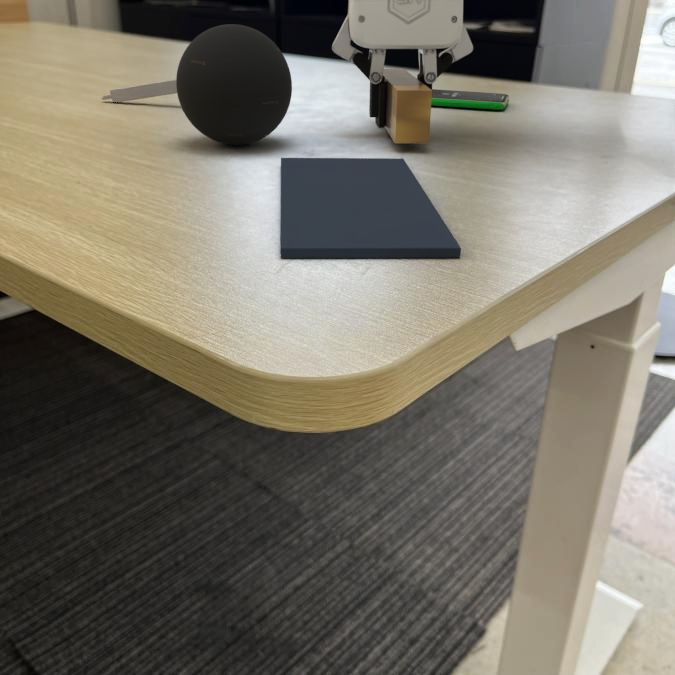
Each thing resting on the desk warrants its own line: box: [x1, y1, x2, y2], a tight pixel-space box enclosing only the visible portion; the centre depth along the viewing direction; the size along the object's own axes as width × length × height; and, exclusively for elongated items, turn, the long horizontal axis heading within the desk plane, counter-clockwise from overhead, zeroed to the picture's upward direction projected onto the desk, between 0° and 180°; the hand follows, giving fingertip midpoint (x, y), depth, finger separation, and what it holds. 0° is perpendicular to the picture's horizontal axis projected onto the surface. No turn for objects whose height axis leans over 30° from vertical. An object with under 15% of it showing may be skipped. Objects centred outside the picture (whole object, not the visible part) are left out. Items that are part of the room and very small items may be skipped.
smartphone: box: [431, 88, 510, 111], centre depth 91 cm, size 8×1×15 cm
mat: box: [279, 157, 462, 259], centre depth 51 cm, size 10×22×1 cm, turn 4°
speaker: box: [175, 23, 293, 146], centre depth 65 cm, size 10×10×10 cm
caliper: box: [101, 79, 177, 104], centre depth 84 cm, size 20×1×6 cm, turn 76°
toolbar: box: [383, 68, 432, 144], centre depth 72 cm, size 3×16×4 cm, turn 4°
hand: (399, 123), depth 72 cm, fingers closed on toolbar, 3 cm apart
